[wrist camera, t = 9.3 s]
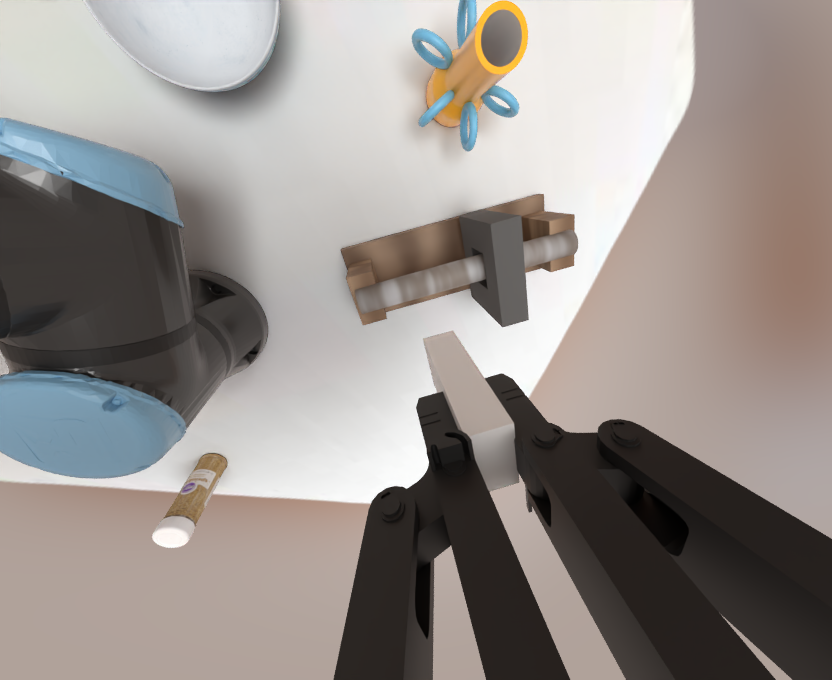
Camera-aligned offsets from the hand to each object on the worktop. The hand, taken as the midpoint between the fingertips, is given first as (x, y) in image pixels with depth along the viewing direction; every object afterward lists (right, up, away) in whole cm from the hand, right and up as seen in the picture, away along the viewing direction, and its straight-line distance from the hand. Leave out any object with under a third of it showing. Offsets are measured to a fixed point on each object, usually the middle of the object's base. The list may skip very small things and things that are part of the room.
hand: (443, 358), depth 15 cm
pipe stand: (+3, +13, +28) cm, 31 cm away
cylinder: (+3, +30, +20) cm, 36 cm away
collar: (+7, +12, +25) cm, 29 cm away
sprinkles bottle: (-37, -21, +39) cm, 58 cm away
